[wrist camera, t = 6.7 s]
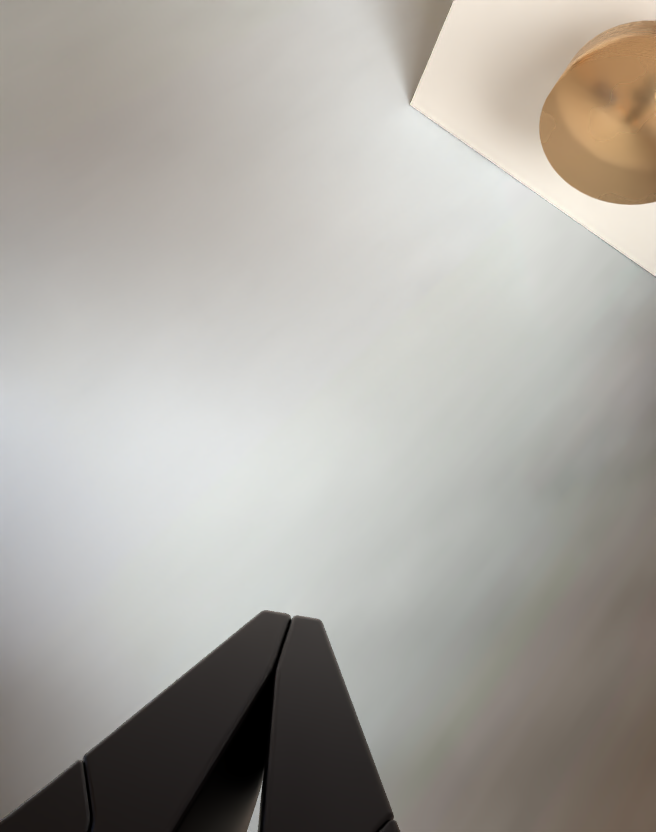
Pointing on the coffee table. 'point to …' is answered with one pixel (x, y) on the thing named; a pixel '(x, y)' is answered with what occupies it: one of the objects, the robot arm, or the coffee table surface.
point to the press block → (528, 98)
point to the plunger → (606, 117)
